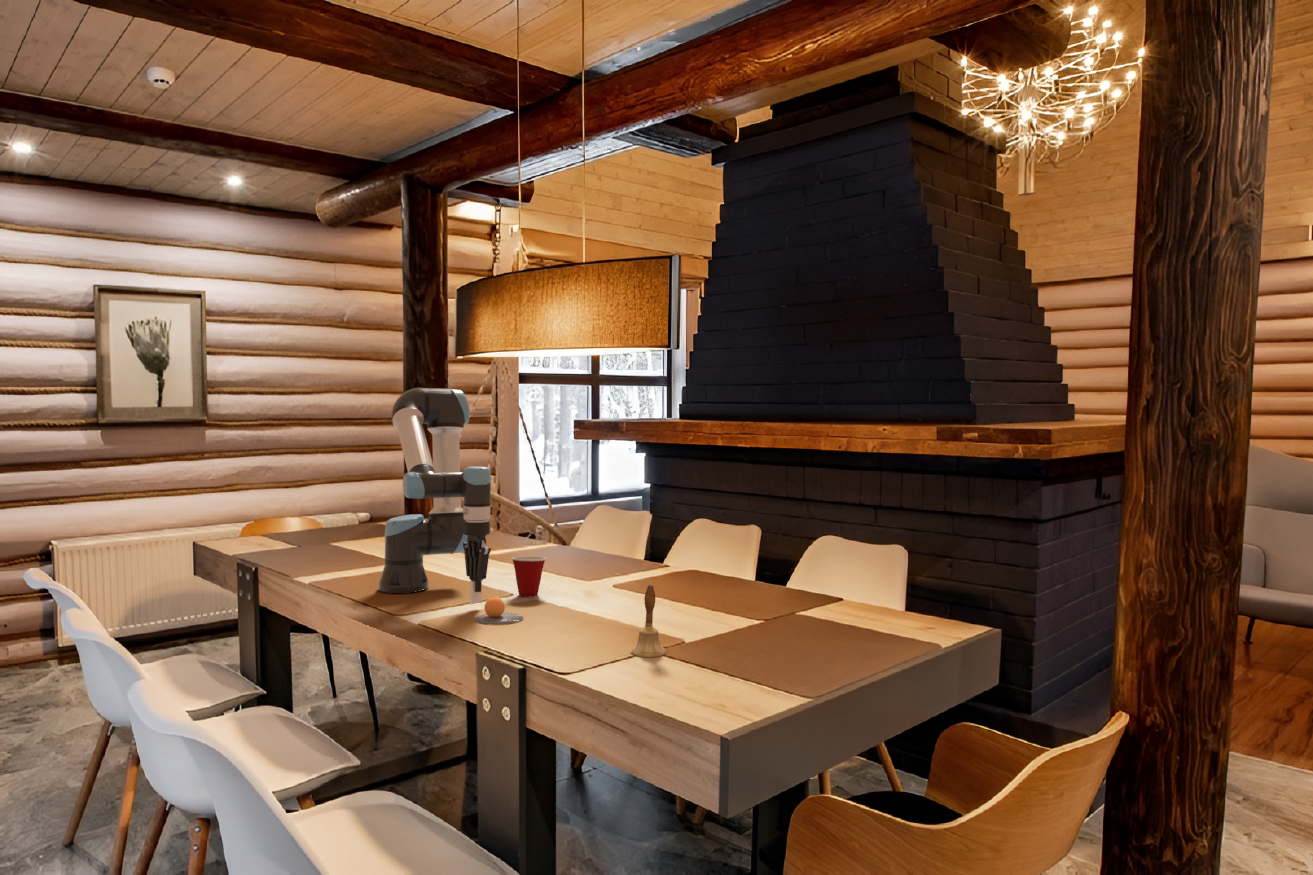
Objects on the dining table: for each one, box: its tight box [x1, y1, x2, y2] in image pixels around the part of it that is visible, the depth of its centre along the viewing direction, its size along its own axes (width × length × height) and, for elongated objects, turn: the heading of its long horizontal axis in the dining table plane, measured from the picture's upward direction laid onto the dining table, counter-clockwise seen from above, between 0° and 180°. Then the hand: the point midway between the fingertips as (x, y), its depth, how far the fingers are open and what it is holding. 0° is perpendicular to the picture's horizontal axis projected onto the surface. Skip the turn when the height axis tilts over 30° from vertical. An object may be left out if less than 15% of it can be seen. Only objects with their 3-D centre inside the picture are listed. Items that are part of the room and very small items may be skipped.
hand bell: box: [630, 584, 667, 658], centre depth 191 cm, size 8×8×16 cm
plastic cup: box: [511, 556, 547, 598], centre depth 252 cm, size 11×11×12 cm
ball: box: [484, 596, 506, 617], centre depth 223 cm, size 6×6×6 cm
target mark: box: [474, 612, 524, 625], centre depth 221 cm, size 13×13×1 cm
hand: (475, 602), depth 232 cm, fingers closed
